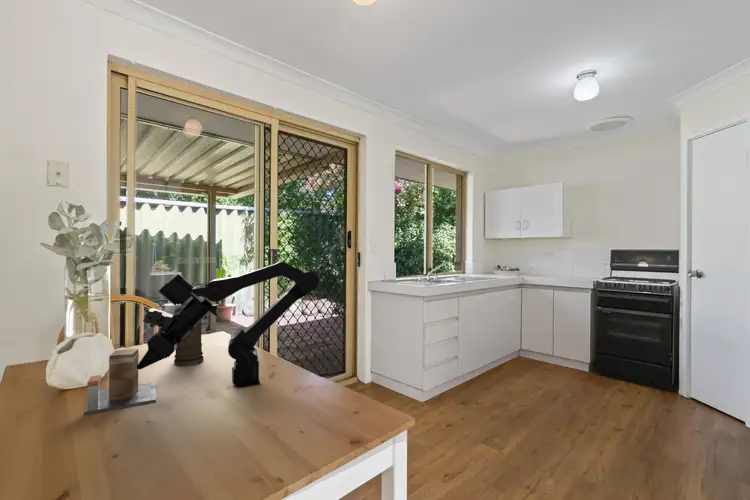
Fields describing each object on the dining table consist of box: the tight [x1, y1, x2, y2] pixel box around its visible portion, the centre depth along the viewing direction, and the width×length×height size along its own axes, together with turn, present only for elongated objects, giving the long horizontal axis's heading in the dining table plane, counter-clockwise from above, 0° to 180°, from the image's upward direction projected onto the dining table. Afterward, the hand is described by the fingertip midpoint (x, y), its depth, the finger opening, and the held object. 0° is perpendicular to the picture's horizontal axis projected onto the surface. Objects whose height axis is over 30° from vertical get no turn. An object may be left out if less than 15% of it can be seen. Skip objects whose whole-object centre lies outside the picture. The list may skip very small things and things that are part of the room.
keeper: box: [83, 374, 158, 416], centre depth 92 cm, size 14×14×7 cm
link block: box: [108, 348, 140, 400], centre depth 92 cm, size 5×5×11 cm
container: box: [173, 307, 204, 367], centre depth 121 cm, size 9×9×18 cm
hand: (142, 363), depth 93 cm, fingers open, 9 cm apart
